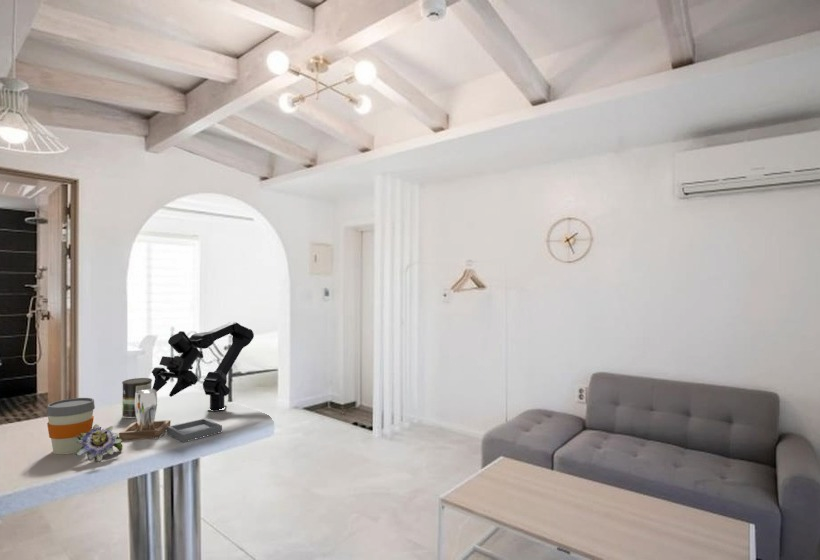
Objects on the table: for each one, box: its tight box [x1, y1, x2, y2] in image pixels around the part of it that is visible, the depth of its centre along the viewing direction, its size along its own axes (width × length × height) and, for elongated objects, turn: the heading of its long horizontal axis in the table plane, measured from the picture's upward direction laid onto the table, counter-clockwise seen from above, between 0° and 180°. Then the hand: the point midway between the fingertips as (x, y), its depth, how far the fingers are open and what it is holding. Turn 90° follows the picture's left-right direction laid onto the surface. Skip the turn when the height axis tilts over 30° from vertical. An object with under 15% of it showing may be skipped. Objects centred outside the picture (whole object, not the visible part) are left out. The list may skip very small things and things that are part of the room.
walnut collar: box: [118, 419, 171, 441], centre depth 161 cm, size 12×12×2 cm
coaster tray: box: [166, 417, 223, 443], centre depth 161 cm, size 14×14×2 cm
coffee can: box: [121, 377, 153, 419], centre depth 183 cm, size 10×10×14 cm
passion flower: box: [74, 423, 123, 463], centre depth 139 cm, size 11×11×12 cm
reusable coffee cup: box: [45, 397, 96, 455], centre depth 146 cm, size 13×12×15 cm
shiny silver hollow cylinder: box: [135, 388, 158, 431], centre depth 161 cm, size 7×7×15 cm
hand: (160, 394), depth 166 cm, fingers open, 9 cm apart
